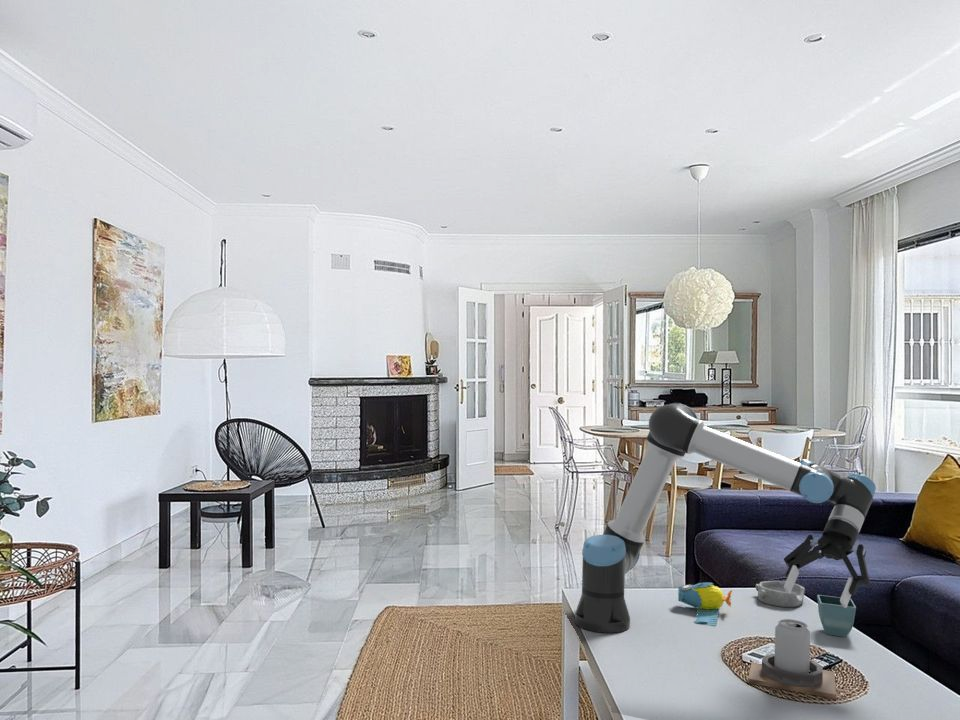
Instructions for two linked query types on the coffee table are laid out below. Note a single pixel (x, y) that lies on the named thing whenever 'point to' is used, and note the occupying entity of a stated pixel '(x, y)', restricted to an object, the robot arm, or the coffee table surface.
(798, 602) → the dish
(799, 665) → the can
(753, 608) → the coffee table surface
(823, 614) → the flower pot
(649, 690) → the coffee table surface
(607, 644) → the coffee table surface
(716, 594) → the blue yellow plastic figure
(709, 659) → the coffee table surface
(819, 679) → the can holder
